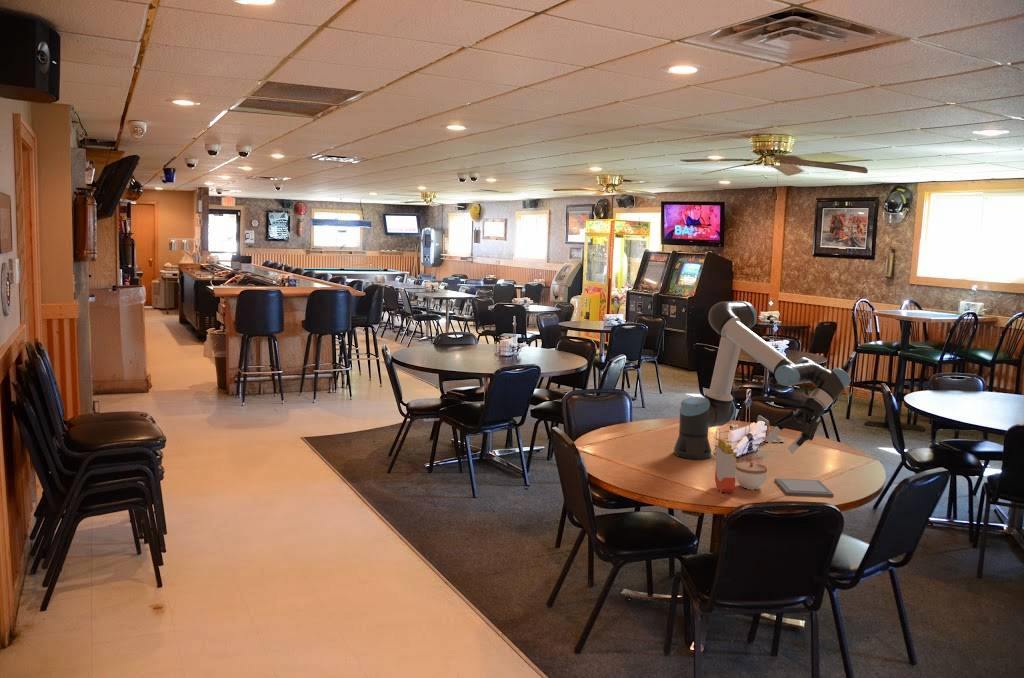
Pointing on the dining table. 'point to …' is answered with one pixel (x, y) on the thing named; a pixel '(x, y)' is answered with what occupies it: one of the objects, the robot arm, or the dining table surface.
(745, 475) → the lidded jar
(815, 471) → the dining table surface
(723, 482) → the french fries container
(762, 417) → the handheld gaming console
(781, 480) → the bar mat
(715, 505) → the dining table surface
